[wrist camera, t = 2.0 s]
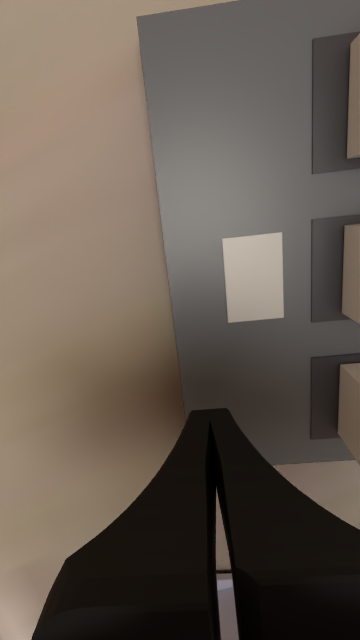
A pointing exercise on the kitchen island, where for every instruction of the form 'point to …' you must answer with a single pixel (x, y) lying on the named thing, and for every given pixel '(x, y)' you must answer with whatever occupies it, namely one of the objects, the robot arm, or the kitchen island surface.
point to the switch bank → (257, 211)
